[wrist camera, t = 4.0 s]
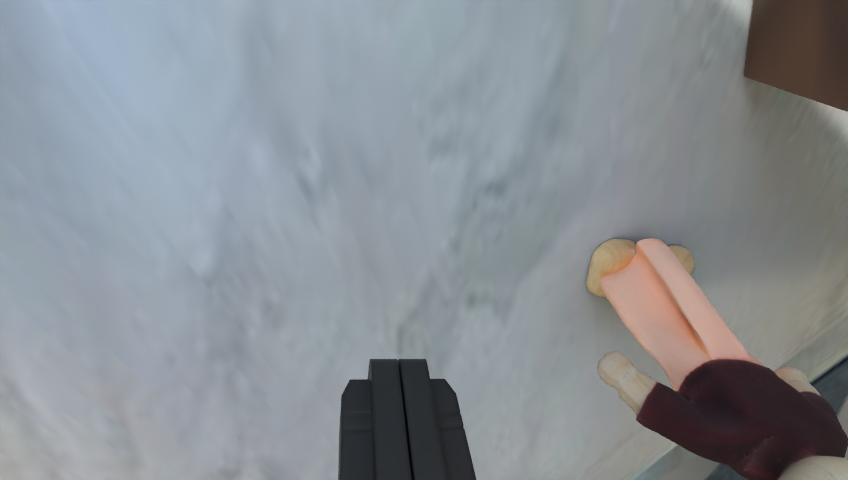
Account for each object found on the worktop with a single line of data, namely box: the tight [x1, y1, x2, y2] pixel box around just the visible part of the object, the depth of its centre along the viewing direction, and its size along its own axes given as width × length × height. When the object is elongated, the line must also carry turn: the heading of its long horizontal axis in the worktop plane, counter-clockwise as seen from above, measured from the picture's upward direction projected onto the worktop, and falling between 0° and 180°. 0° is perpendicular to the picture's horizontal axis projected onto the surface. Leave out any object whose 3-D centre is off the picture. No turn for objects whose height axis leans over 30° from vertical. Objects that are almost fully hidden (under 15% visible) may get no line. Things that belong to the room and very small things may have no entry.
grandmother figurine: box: [586, 238, 848, 480], centre depth 15 cm, size 8×4×13 cm, turn 87°
